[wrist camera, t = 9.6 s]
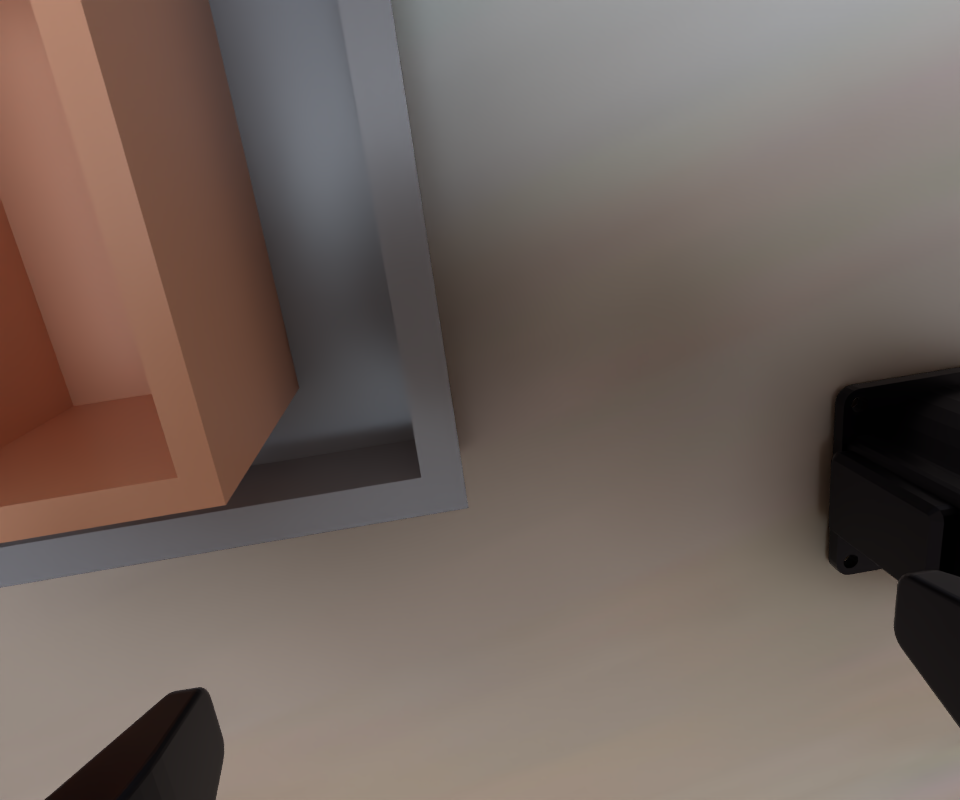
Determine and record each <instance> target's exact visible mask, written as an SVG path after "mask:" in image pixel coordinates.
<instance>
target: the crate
mask: <svg viewBox="0 0 960 800" xmlns="http://www.w3.org/2000/svg"><path fill="white" fill-rule="evenodd" d="M209 4H210V8H211V13H212V17H213V21H214V25H215V30H216V34H217V38H218V43H219V47H220V51H221V55H222V60H223V64H224V68H225V73H226V77H227V81H228V85H229V90H230V94H231V98H232V102H233V107H234V111H235V115H236V120H237V124H238V128H239V132H240V137H241V141H242V145H243V150H244V154H245V158H246V162H247V167H248V171H249V175H250V180H251V184H252V188H253V192H254V197H255V201H256V205H257V209H258V214H259V218H260V222H261V227H262V231H263V235H264V239H265V244H266V248H267V252H268V257H269V261H270V265H271V269H272V274H273V278H274V282H275V287H276V291H277V295H278V299H279V304H280V308H281V312H282V316H283V321H284V325H285V329H286V334H287V338H288V342H289V346H290V351H291V355H292V359H293V364H294V368H295V372H296V376H297V381H298V385H299V389H298V391H297V392H296V394H295V396H294V397H293V399H292V400H291V402H290V404H289V405H288V407H287V408H286V410H285V412H284V413H283V415H282V416H281V418H280V420H279V421H278V423H277V424H276V426H275V428H274V429H273V431H272V432H271V434H270V436H269V437H268V439H267V440H266V442H265V444H264V445H263V447H262V448H261V450H260V451H259V453H258V455H257V456H256V458H255V459H254V461H253V463H252V464H251V466H250V467H249V469H248V471H247V472H246V474H245V475H244V477H243V479H242V480H241V482H240V483H239V485H238V487H237V488H236V490H235V491H234V493H233V495H232V496H231V498H230V499H229V501H228V503H227V504H226V505H223V506H217V507H212V508H206V509H200V510H194V511H188V512H182V513H176V514H170V515H164V516H158V517H153V518H147V519H141V520H135V521H129V522H123V523H117V524H111V525H105V526H99V527H94V528H88V529H82V530H76V531H70V532H64V533H58V534H52V535H46V536H40V537H34V538H29V539H23V540H17V541H11V542H5V543H0V588H1V587H6V586H12V585H18V584H24V583H30V582H36V581H42V580H48V579H53V578H59V577H65V576H71V575H77V574H83V573H89V572H95V571H100V570H106V569H112V568H118V567H124V566H130V565H136V564H142V563H147V562H153V561H159V560H165V559H171V558H177V557H183V556H189V555H194V554H200V553H206V552H212V551H218V550H224V549H230V548H236V547H241V546H247V545H253V544H259V543H265V542H271V541H277V540H283V539H288V538H294V537H300V536H306V535H312V534H318V533H324V532H330V531H336V530H341V529H347V528H353V527H359V526H365V525H371V524H377V523H383V522H388V521H394V520H400V519H406V518H412V517H418V516H424V515H430V514H435V513H441V512H447V511H453V510H459V509H465V508H468V502H467V495H466V489H465V482H464V476H463V469H462V463H461V456H460V450H459V443H458V437H457V430H456V423H455V417H454V410H453V404H452V397H451V391H450V384H449V378H448V371H447V365H446V358H445V351H444V345H443V338H442V332H441V325H440V319H439V312H438V306H437V299H436V293H435V286H434V279H433V273H432V266H431V260H430V253H429V247H428V240H427V234H426V227H425V221H424V214H423V207H422V201H421V194H420V188H419V181H418V175H417V168H416V162H415V155H414V149H413V142H412V135H411V129H410V122H409V116H408V109H407V103H406V96H405V90H404V83H403V77H402V70H401V63H400V57H399V50H398V44H397V37H396V31H395V24H394V18H393V11H392V5H391V0H209Z"/></svg>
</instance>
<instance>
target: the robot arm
mask: <svg viewBox="0 0 960 800" xmlns="http://www.w3.org/2000/svg"><path fill="white" fill-rule="evenodd" d="M857 397H858V403H857V404H856V405H855V406H854V407H852V406H851V405H852V402H853V400H854V399H855V398H857ZM829 528H830V539H829V562H830V564H831V565H832V566H833V567H834V568H835V569H837V570H838V571H839V572H840V573H842V574H845V575H850V574H856V573H861V572H866V571H872V570H877V569H883V570H885V571H886V572H887V573H889V574H890V575H891V576H893V577H894V578H895V579H897V580H898V585H897V595H896V606H895V617H894V631H895V635H896V638H897V641H898V643H899V645H900V646H901V648H902V649H903V651H904V652H905V654H906V655H907V656H908V658H909V659H910V660H911V662H912V663H913V665H914V666H915V667H916V669H917V670H918V671H919V673H920V674H921V675H922V677H923V678H924V680H925V681H926V682H927V684H928V685H929V686H930V688H931V689H932V691H933V692H934V693H935V695H936V696H937V697H938V699H939V700H940V702H941V703H942V704H943V706H944V707H945V708H946V710H947V711H948V712H949V714H950V715H951V717H952V718H953V719H954V721H955V722H956V723H957V725H958V726H959V728H960V367H958V368H952V369H946V370H940V371H934V372H928V373H921V374H915V375H909V376H903V377H897V378H891V379H885V380H879V381H873V382H867V383H860V384H854V385H850V386H847V387H845V388H844V389H843V390H841V391H840V393H839V394H838V396H837V398H836V402H835V422H834V445H833V458H832V461H831V480H830V504H829ZM849 555H850V556H849ZM847 556H849V558H848V559H847V560H846V561H844V559H845V558H846V557H847ZM223 759H224V741H223V736H222V733H221V729H220V726H219V723H218V720H217V716H216V713H215V710H214V706H213V703H212V700H211V697H210V695H209V693H208V691H207V690H206V689H204V688H202V687H198V688H191V689H185V690H179V691H174V692H171V693H169V694H168V695H166V696H165V697H164V698H163V699H161V700H160V701H159V702H158V703H157V704H156V705H154V706H153V707H152V708H151V709H150V710H149V711H147V712H146V713H145V714H144V715H143V716H142V717H141V718H139V719H138V720H137V721H136V722H135V723H134V724H132V725H131V726H130V727H129V728H128V729H127V730H125V731H124V732H123V733H122V734H121V735H120V736H118V737H117V738H116V739H115V740H114V741H113V742H111V743H110V744H109V745H108V746H107V747H106V748H104V749H103V750H102V751H101V752H100V753H99V754H97V755H96V756H95V757H94V758H93V759H92V760H90V761H89V762H88V763H87V764H86V765H85V766H83V767H82V768H81V769H80V770H79V771H78V772H76V773H75V774H74V775H73V776H72V777H71V778H69V779H68V780H67V781H66V782H65V783H64V784H62V785H61V786H60V787H59V788H58V789H57V790H55V791H54V792H53V793H52V794H51V795H50V796H48V797H47V798H46V799H45V800H216V795H217V790H218V785H219V780H220V775H221V770H222V764H223Z"/></svg>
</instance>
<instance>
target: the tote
mask: <svg viewBox="0 0 960 800" xmlns="http://www.w3.org/2000/svg"><path fill="white" fill-rule="evenodd" d="M298 389H299V385H298V381H297V376H296V372H295V368H294V364H293V359H292V355H291V351H290V346H289V342H288V338H287V334H286V329H285V325H284V321H283V316H282V312H281V308H280V304H279V299H278V295H277V291H276V287H275V282H274V278H273V274H272V269H271V265H270V261H269V257H268V252H267V248H266V244H265V239H264V235H263V231H262V227H261V222H260V218H259V214H258V209H257V205H256V201H255V197H254V192H253V188H252V184H251V180H250V175H249V171H248V167H247V162H246V158H245V154H244V150H243V145H242V141H241V137H240V132H239V128H238V124H237V120H236V115H235V111H234V107H233V102H232V98H231V94H230V90H229V85H228V81H227V77H226V73H225V68H224V64H223V60H222V55H221V51H220V47H219V43H218V38H217V34H216V30H215V25H214V21H213V17H212V13H211V8H210V4H209V0H0V543H5V542H11V541H17V540H23V539H29V538H34V537H40V536H46V535H52V534H58V533H64V532H70V531H76V530H82V529H88V528H94V527H99V526H105V525H111V524H117V523H123V522H129V521H135V520H141V519H147V518H153V517H158V516H164V515H170V514H176V513H182V512H188V511H194V510H200V509H206V508H212V507H217V506H223V505H226V504H227V503H228V501H229V499H230V498H231V496H232V495H233V493H234V491H235V490H236V488H237V487H238V485H239V483H240V482H241V480H242V479H243V477H244V475H245V474H246V472H247V471H248V469H249V467H250V466H251V464H252V463H253V461H254V459H255V458H256V456H257V455H258V453H259V451H260V450H261V448H262V447H263V445H264V444H265V442H266V440H267V439H268V437H269V436H270V434H271V432H272V431H273V429H274V428H275V426H276V424H277V423H278V421H279V420H280V418H281V416H282V415H283V413H284V412H285V410H286V408H287V407H288V405H289V404H290V402H291V400H292V399H293V397H294V396H295V394H296V392H297V391H298Z"/></svg>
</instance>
